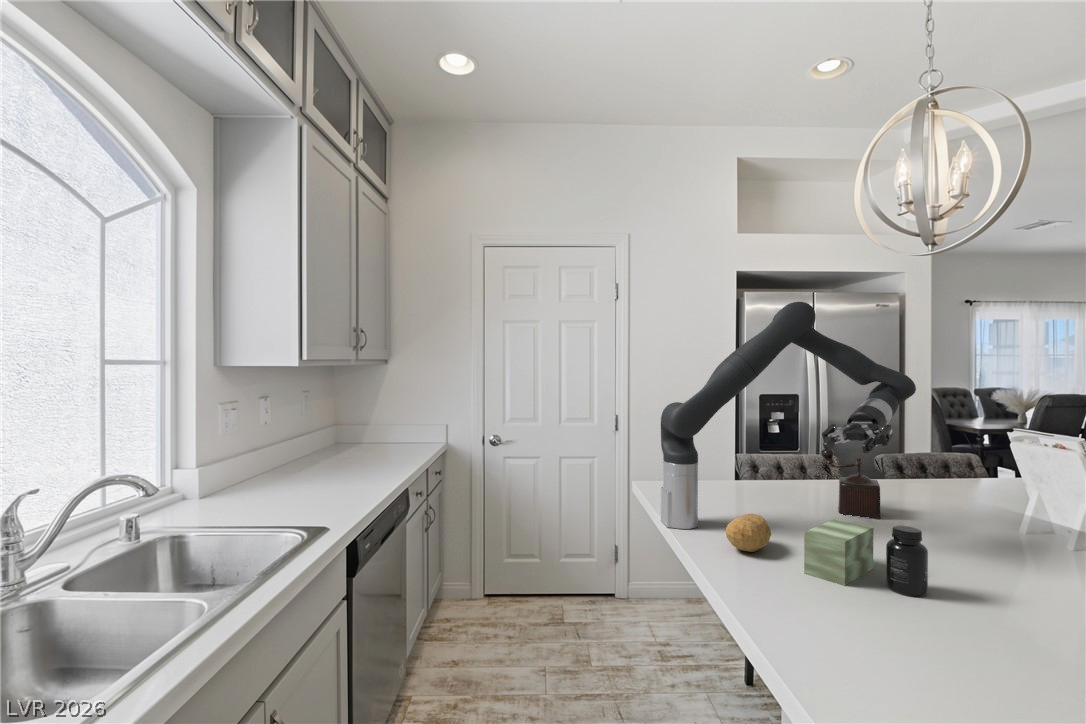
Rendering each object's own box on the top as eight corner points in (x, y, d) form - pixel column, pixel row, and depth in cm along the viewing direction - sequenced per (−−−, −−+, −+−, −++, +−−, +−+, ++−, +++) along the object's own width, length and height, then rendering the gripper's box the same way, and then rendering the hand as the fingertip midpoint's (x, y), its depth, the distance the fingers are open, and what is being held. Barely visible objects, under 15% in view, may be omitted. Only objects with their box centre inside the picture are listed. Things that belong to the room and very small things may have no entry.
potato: (776, 545, 132) (776, 512, 132) (763, 562, 120) (763, 526, 120) (735, 537, 137) (735, 506, 137) (719, 553, 125) (719, 519, 125)
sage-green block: (834, 558, 123) (834, 518, 123) (873, 568, 117) (873, 527, 117) (804, 574, 114) (804, 531, 114) (844, 586, 108) (845, 541, 108)
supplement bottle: (936, 598, 102) (937, 534, 102) (900, 597, 103) (900, 534, 102) (912, 583, 109) (912, 523, 109) (878, 582, 109) (878, 523, 109)
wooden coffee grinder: (877, 510, 163) (878, 450, 163) (881, 519, 153) (881, 456, 153) (820, 503, 170) (820, 446, 170) (819, 512, 160) (820, 452, 160)
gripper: (837, 405, 140) (810, 433, 131) (898, 404, 129) (874, 435, 119) (844, 431, 141) (818, 461, 132) (906, 432, 130) (882, 465, 121)
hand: (844, 448), depth 126 cm, fingers open, 8 cm apart
